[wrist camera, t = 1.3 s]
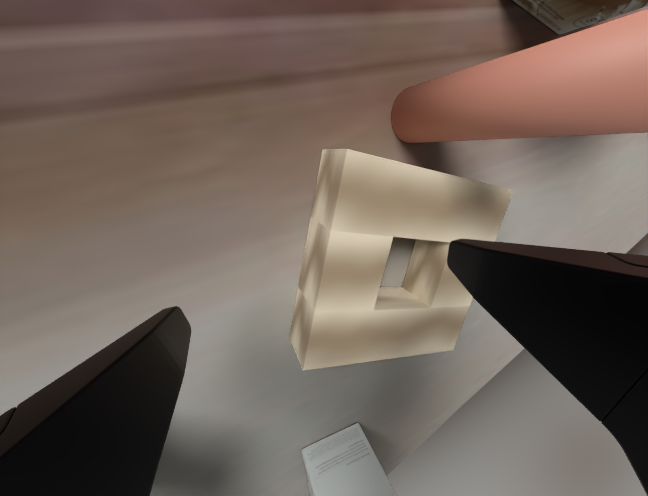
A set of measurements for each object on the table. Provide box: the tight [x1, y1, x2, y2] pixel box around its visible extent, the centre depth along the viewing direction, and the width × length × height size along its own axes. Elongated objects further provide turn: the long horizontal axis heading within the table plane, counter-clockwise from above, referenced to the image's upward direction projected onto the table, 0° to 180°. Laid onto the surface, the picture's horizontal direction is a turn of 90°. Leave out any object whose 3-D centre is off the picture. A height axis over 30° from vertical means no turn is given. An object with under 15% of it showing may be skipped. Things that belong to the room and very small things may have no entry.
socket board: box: [289, 149, 514, 371], centre depth 23 cm, size 16×16×4 cm
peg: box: [391, 9, 648, 143], centre depth 15 cm, size 4×4×14 cm
